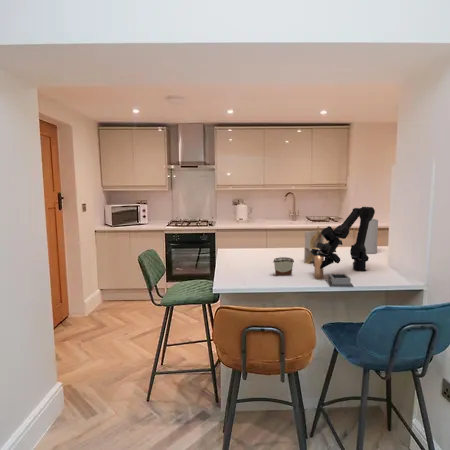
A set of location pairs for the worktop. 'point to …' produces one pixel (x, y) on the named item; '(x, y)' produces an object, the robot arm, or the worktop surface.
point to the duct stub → (339, 280)
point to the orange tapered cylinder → (318, 267)
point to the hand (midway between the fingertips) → (317, 267)
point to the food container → (283, 266)
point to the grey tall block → (371, 237)
